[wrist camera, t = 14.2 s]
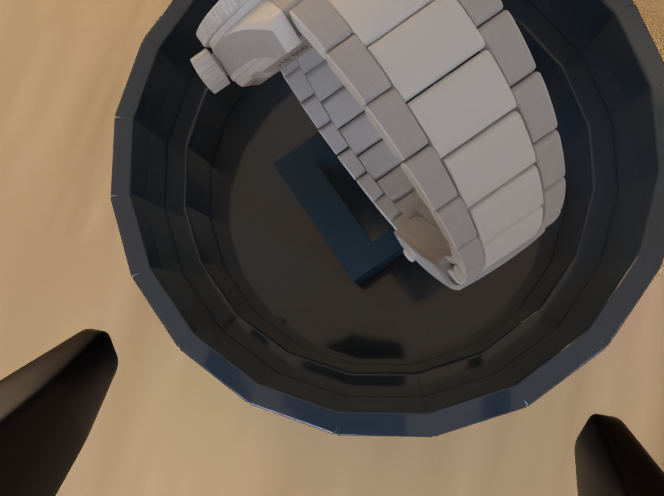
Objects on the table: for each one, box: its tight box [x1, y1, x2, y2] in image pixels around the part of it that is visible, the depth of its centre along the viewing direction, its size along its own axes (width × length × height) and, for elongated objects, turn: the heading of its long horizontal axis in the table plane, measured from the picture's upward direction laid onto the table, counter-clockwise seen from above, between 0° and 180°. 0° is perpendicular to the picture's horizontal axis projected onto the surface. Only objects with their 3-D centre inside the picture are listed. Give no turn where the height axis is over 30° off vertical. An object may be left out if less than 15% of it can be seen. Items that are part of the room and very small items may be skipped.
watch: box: [190, 0, 566, 290], centre depth 12 cm, size 6×8×11 cm
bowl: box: [111, 0, 664, 437], centre depth 16 cm, size 15×15×5 cm
